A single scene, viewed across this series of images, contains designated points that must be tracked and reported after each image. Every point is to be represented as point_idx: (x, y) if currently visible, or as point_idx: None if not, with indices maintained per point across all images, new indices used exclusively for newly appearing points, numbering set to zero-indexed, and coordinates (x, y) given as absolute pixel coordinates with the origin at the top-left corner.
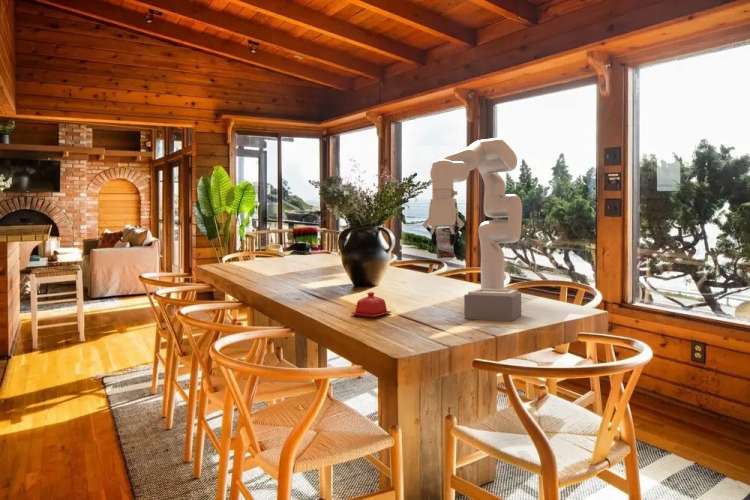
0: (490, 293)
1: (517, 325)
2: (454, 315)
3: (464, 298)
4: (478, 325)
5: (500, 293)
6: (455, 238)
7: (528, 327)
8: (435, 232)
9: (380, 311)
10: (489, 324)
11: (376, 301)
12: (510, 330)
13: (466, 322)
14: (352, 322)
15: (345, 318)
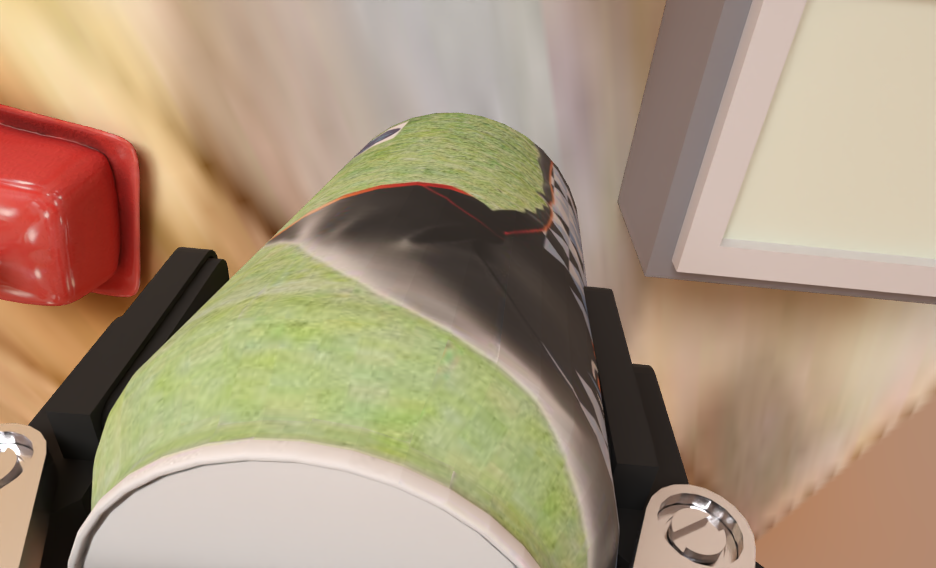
0: (840, 284)
1: (880, 340)
2: (540, 74)
3: (641, 262)
4: (692, 378)
5: (912, 292)
6: (668, 427)
7: (917, 377)
8: (50, 504)
9: (114, 240)
10: (746, 344)
11: (67, 288)
12: (817, 450)
13: (634, 316)
14: None
15: (26, 338)
